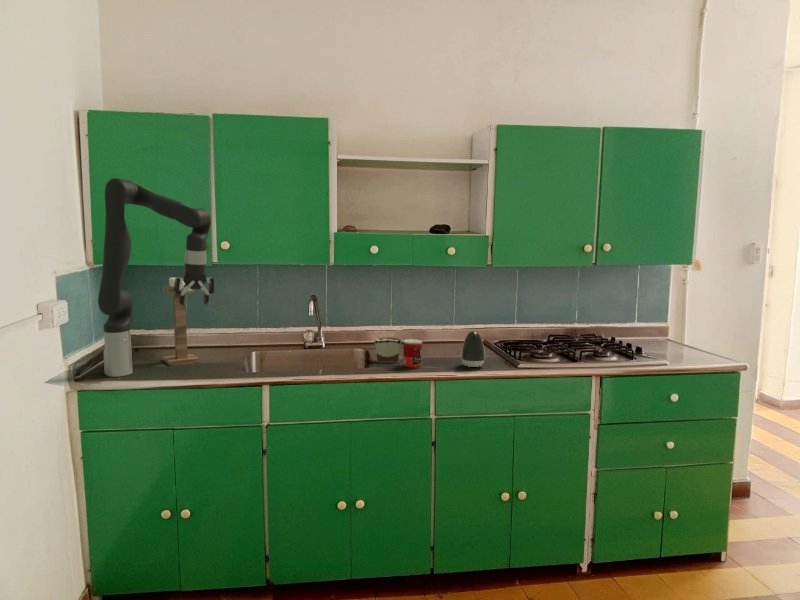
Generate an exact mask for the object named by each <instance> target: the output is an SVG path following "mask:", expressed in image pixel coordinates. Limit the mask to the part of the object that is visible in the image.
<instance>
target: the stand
mask: <svg viewBox="0 0 800 600" xmlns="http://www.w3.org/2000/svg"><path fill="white" fill-rule="evenodd" d="M162 288H163V289H162V292H163V293H166V294H169V295H171V294H172V305H173V306H172V307H173V308H172V309H173V311H172V313H173V335H174V355H167V356H163V361H164V362H165V363H166V364H168V365H169V366H170V365H171V366H170V367H172V365H173V366H180V365H179V364H181V365H188V363H189V364H196V363H195V362H197V363H201V359H200V358H199V357H198V356H196V355H194V354H193V353H188V335H187V311H186V308H187V307H186V294H188V293H189V294H191V293H193V294H194V293H195V289H192V290H188V291H186V293H185V294H184V305H181V304H180V303H179V294H176V293H175V292H174V287H171V286H170V285H169V286H163V287H162ZM179 291H180V289H179Z"/></svg>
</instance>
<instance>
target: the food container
mask: <svg viewBox="0 0 800 600" xmlns="http://www.w3.org/2000/svg"><path fill="white" fill-rule="evenodd" d="M373 344H374V345H375V356H376V362H377V363H399V361H400V352H401V345H403V342H402V339H401V338H400V337H393V336H382V337H377V338H375V339H374V341H373Z"/></svg>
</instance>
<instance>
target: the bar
mask: <svg viewBox="0 0 800 600" xmlns="http://www.w3.org/2000/svg"><path fill="white" fill-rule="evenodd" d="M175 278H176V277H169V279H168V280H169V287H170V286H171V287H174V284H175ZM184 285H185V283H184V281H182V283H181V284H180V287H179V289H180V290H181V289H182V287H183V286H184ZM189 290H192V289H189Z"/></svg>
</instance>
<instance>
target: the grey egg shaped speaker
mask: <svg viewBox="0 0 800 600" xmlns="http://www.w3.org/2000/svg"><path fill="white" fill-rule="evenodd" d="M460 358H461V362H462V365H463V366H465V367H466V366H468V367H467V368H469V367H478V368H480V367H481V366H483V364H484V362H485V360H486V351H485V346H484V342H483V340H482V336H481V335H480V334H479V332H477V331H474V330H473V331H470V332H468V333H467V334H466V336H465V338H464V341H463V344H462V347H461V353H460ZM479 366H480V367H479Z"/></svg>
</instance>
